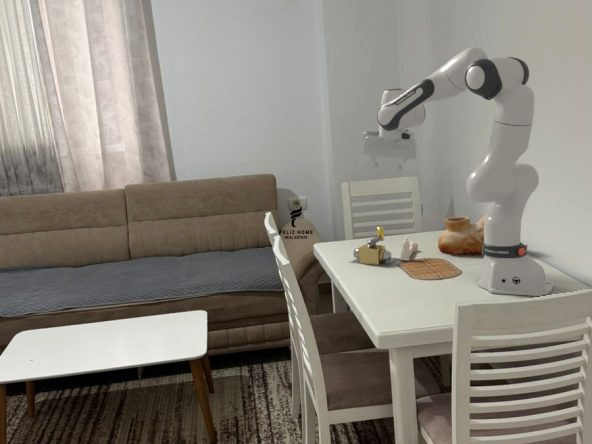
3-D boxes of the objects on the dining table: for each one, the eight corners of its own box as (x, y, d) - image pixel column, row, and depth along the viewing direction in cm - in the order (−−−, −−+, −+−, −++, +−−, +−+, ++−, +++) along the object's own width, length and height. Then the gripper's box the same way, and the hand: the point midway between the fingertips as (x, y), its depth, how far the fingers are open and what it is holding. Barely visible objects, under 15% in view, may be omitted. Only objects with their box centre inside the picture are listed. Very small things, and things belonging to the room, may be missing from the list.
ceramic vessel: (510, 255, 233) (510, 217, 230) (439, 256, 237) (438, 218, 234) (504, 246, 246) (504, 209, 243) (436, 247, 250) (436, 211, 247)
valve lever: (373, 247, 230) (373, 233, 229) (366, 246, 232) (365, 232, 230) (386, 241, 239) (385, 227, 238) (378, 240, 240) (378, 226, 239)
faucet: (418, 263, 247) (419, 238, 248) (409, 260, 231) (410, 234, 232) (408, 262, 248) (409, 238, 249) (398, 259, 232) (400, 233, 233)
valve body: (392, 261, 232) (392, 246, 231) (386, 266, 227) (385, 250, 226) (359, 258, 240) (358, 243, 238) (352, 262, 235) (351, 247, 233)
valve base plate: (401, 259, 236) (401, 258, 236) (388, 267, 226) (388, 266, 226) (363, 255, 245) (363, 254, 245) (349, 263, 235) (349, 262, 235)
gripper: (361, 131, 230) (359, 168, 234) (417, 135, 224) (414, 172, 229) (364, 128, 235) (362, 164, 240) (419, 132, 230) (415, 168, 235)
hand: (388, 168), depth 234 cm, fingers open, 8 cm apart
